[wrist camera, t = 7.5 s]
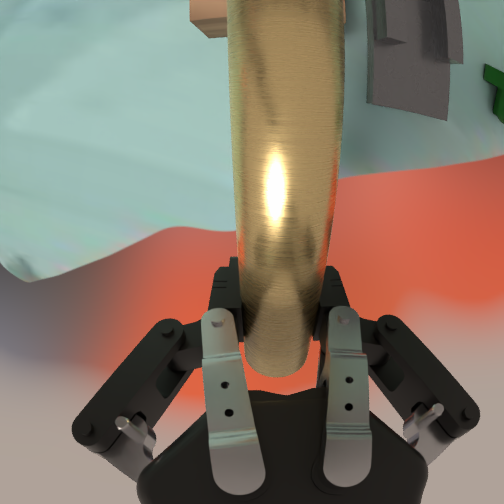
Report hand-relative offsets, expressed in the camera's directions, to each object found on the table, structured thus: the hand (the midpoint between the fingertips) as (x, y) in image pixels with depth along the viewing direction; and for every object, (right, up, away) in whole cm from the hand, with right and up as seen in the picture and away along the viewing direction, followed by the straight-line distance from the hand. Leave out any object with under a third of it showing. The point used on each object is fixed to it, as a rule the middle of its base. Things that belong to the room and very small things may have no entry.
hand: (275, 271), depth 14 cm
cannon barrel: (0, +3, -4) cm, 5 cm away
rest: (+14, +22, +3) cm, 26 cm away
